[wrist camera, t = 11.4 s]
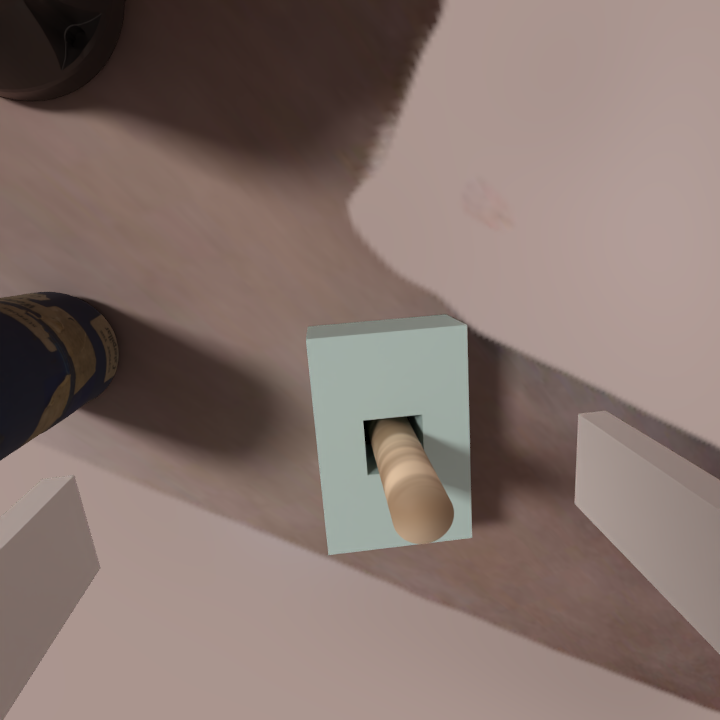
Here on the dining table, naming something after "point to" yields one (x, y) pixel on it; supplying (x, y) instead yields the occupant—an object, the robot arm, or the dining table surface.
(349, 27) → the dining table surface
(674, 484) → the robot arm
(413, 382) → the socket block
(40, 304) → the canister
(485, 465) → the dining table surface
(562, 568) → the dining table surface
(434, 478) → the peg
